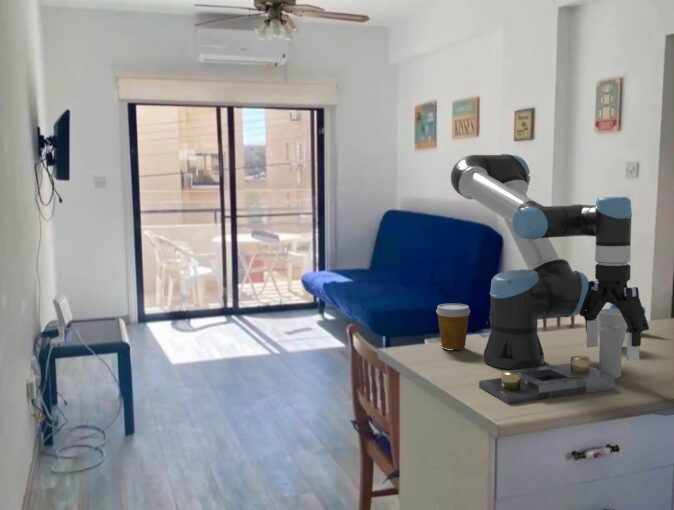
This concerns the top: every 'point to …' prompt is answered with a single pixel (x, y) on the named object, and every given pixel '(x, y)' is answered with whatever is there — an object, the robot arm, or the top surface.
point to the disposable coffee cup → (453, 325)
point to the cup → (612, 320)
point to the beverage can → (610, 349)
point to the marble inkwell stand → (549, 381)
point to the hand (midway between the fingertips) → (611, 353)
